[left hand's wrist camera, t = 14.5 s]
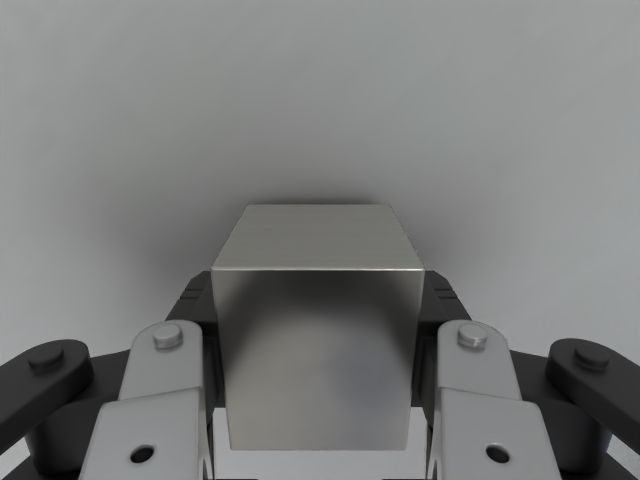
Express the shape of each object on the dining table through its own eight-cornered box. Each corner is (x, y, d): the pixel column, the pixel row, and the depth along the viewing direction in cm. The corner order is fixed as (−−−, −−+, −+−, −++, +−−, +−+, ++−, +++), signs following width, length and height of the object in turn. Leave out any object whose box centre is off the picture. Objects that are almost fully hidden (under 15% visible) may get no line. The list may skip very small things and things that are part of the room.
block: (256, 342, 13) (229, 451, 9) (247, 203, 11) (209, 267, 8) (381, 342, 13) (406, 451, 9) (390, 204, 11) (426, 267, 8)
